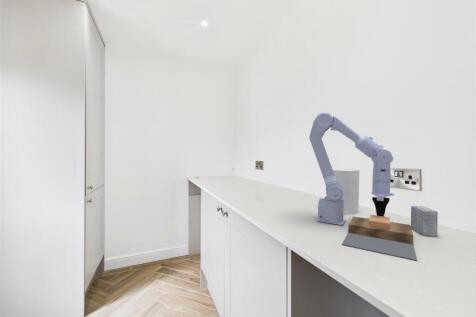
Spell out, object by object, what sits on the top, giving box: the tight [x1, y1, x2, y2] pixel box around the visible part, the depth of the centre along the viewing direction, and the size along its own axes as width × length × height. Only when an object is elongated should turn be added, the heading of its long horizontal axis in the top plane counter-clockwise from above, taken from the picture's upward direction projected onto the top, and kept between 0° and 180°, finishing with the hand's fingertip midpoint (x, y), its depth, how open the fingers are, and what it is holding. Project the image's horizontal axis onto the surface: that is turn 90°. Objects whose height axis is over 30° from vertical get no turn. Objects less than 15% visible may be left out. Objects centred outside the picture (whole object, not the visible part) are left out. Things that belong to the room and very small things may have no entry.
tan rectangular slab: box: [368, 214, 391, 230], centre depth 80 cm, size 6×9×2 cm, turn 147°
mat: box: [341, 232, 418, 262], centre depth 69 cm, size 18×12×1 cm, turn 56°
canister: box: [332, 168, 360, 215], centre depth 111 cm, size 14×14×20 cm
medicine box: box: [410, 205, 439, 238], centre depth 81 cm, size 8×4×9 cm, turn 168°
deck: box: [347, 216, 414, 246], centre depth 80 cm, size 18×12×3 cm, turn 56°
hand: (380, 216), depth 87 cm, fingers closed
